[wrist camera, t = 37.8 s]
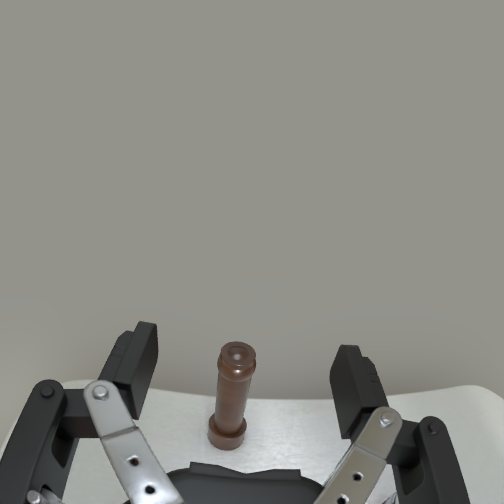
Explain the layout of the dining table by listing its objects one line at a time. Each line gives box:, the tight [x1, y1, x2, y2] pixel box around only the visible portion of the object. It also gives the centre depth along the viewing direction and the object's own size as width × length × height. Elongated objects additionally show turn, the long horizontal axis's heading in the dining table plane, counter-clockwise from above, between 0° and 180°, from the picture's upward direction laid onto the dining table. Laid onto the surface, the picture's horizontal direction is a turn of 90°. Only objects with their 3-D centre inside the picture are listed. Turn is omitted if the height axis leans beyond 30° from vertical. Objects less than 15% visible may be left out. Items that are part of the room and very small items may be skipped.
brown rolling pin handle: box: [208, 342, 256, 450], centre depth 32 cm, size 4×4×15 cm
